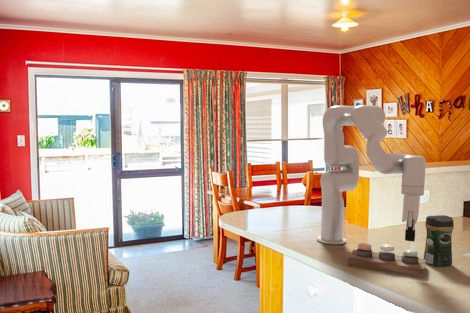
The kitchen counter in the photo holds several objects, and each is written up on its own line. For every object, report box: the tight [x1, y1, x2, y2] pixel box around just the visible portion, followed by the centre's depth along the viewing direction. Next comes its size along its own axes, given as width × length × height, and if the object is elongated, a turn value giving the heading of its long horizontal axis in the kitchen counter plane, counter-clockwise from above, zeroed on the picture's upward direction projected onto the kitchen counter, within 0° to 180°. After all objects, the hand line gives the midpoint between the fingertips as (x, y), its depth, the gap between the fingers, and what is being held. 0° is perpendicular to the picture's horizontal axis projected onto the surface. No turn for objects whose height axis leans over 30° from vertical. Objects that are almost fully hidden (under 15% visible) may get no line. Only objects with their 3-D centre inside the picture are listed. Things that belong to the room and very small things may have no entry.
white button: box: [379, 243, 395, 252], centre depth 163 cm, size 5×5×1 cm
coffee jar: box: [423, 214, 455, 267], centre depth 167 cm, size 10×8×19 cm
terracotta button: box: [357, 243, 372, 250], centre depth 166 cm, size 5×5×1 cm
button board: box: [347, 247, 426, 278], centre depth 163 cm, size 12×26×5 cm, turn 65°
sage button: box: [402, 248, 419, 257], centre depth 160 cm, size 5×5×1 cm
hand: (409, 240), depth 159 cm, fingers closed
